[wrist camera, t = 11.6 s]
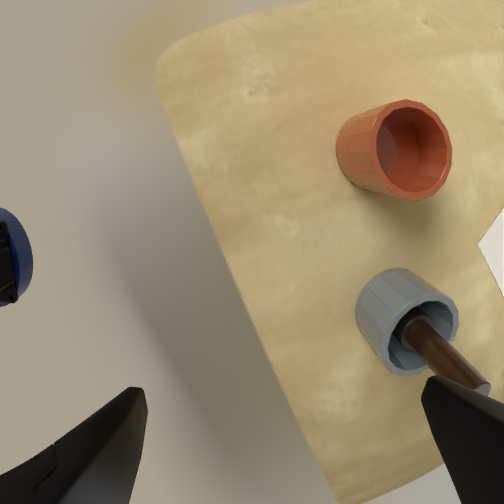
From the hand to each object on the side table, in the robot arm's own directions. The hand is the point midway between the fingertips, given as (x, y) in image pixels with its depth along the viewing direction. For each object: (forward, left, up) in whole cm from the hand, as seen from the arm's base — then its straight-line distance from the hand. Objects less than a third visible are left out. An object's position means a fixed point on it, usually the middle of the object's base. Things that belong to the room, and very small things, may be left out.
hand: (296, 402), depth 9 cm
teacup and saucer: (+32, +3, -13) cm, 35 cm away
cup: (+10, -3, -13) cm, 17 cm away
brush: (+10, -3, -12) cm, 16 cm away
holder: (+7, +8, -13) cm, 17 cm away
